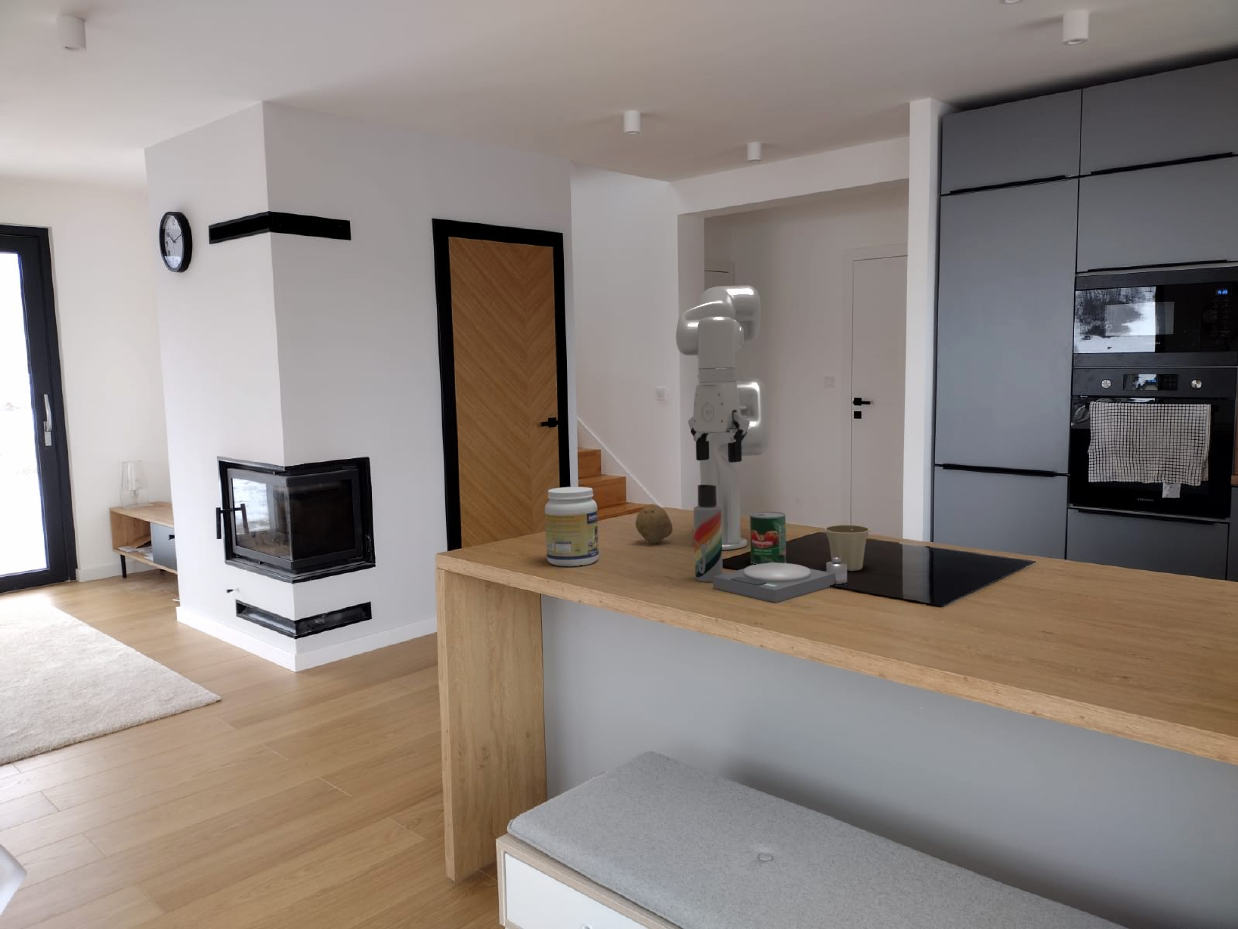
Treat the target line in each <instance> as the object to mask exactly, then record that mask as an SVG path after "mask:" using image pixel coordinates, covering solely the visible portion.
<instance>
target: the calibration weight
mask: <svg viewBox="0 0 1238 929" xmlns="http://www.w3.org/2000/svg"><path fill="white" fill-rule="evenodd" d="M825 565H826V567H825V569H826V571H825V572H830V573H835V583H836V584H842V583H846V582H847V583H848V570H847V563H845V562H841V557H832V559H831V561H828V562H826V564H825Z"/></svg>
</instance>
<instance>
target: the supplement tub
mask: <svg viewBox="0 0 1238 929" xmlns="http://www.w3.org/2000/svg"><path fill="white" fill-rule="evenodd" d="M593 492H594V490H593V488H592V487H586V486H566V487H565V486H564V487H556V488H551V489H548V491H547V499H548V500H549V501H547V503H545V505H544V515H545V516H544V519H545V521H544V522H545V540H546V541H545V543H546V547H545V548H546V559H547V562H548V564H551V565H552V566H557V567H558V566H559V567H581V566H580V565H582V566H589V565H591V564H593V563H595V562H596V561H597V560H598V559H599V556H600V548H599V530H598V529H599V528H598V527H599V526H598V525H599V522H598V505H597V502H596V501H595V500H594V499H592V498H593V497H594V493H593Z"/></svg>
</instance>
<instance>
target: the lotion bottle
mask: <svg viewBox="0 0 1238 929" xmlns="http://www.w3.org/2000/svg"><path fill="white" fill-rule="evenodd" d="M716 505H717V493H716V485H715V486H714V485H701V484H698V485H697V506H694V507H693V528H694V533H693V538H694V539H693V540H694V541H693V542H694V572H695V573H694V574H695V575H694V576H695V580H696V581H698V582H701V583H702V582H705V583H713V576H717V575H721V574H724V573H723V569H724V568H723V550H722V517H721V507H720V506H716Z"/></svg>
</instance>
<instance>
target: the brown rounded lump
mask: <svg viewBox="0 0 1238 929" xmlns="http://www.w3.org/2000/svg"><path fill="white" fill-rule="evenodd" d="M635 528H636V530H637V531H638V533H639V534H640V535H641V537H643V539H644V540H645V541H647V542H649V543H650V544H652V545H653V544H654V545H655V544H659V543H660V542H662V541H663V540H664V539H665V538H668V537H669V536H670V535H671V534H672V533H673V524H672V521H671V519H670V517H669V515H668V513H667V512H666V510H665V509H664V508H663V507H662V506H660V505H658V504H654V503H651V504H647V505H646V506H643V507H642V508H641V509H640V510H639V512H638V513H637V515H636V518H635Z"/></svg>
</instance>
